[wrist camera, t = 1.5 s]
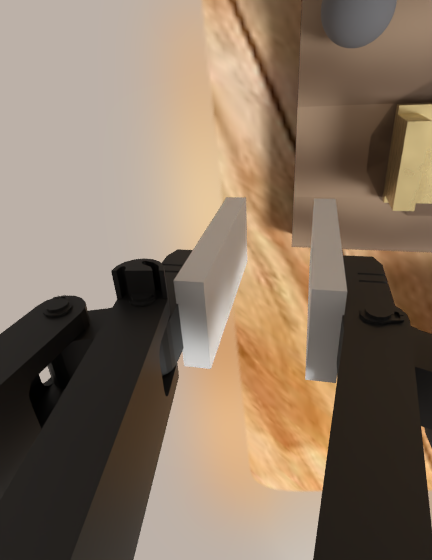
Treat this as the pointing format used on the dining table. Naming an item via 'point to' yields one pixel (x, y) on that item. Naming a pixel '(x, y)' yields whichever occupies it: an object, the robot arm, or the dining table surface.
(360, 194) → the board
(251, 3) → the dining table surface
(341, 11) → the grey ball
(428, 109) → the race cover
